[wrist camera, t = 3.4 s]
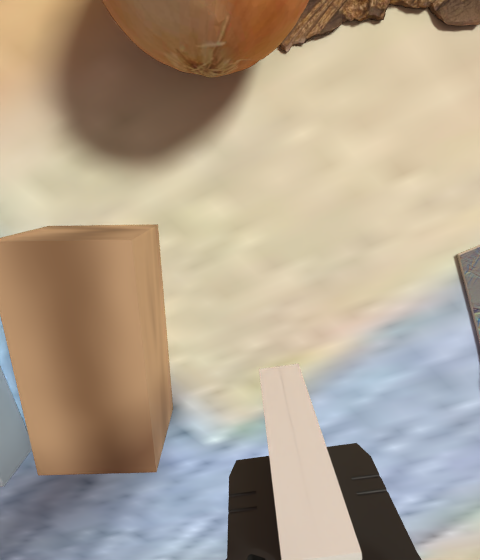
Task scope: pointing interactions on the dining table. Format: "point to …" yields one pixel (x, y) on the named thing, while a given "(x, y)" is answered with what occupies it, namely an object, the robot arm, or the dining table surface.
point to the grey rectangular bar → (11, 434)
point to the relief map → (472, 281)
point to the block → (88, 345)
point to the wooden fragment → (373, 15)
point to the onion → (207, 31)
